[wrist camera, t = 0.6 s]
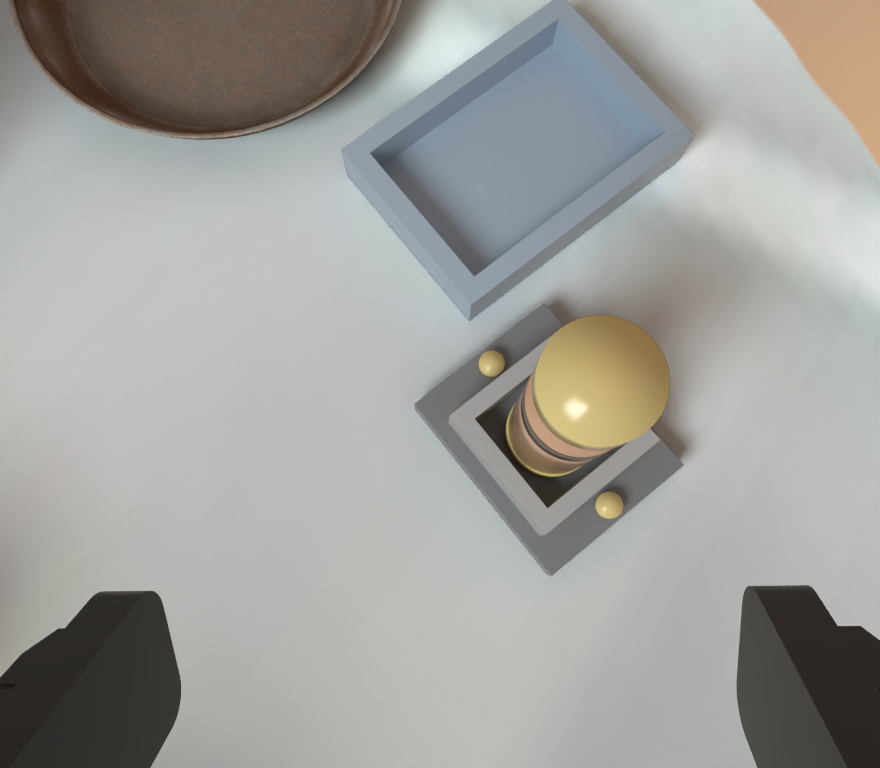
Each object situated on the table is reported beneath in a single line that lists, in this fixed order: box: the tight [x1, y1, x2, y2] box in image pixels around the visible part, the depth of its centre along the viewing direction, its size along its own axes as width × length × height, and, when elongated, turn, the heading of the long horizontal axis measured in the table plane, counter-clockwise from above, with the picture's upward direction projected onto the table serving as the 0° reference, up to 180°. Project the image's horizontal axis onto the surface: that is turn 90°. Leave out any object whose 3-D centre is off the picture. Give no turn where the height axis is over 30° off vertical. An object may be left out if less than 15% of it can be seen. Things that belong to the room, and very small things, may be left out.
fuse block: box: [415, 303, 683, 576], centre depth 34 cm, size 10×8×4 cm
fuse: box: [504, 315, 670, 478], centre depth 29 cm, size 4×4×12 cm
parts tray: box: [341, 0, 694, 321], centre depth 38 cm, size 10×14×3 cm
